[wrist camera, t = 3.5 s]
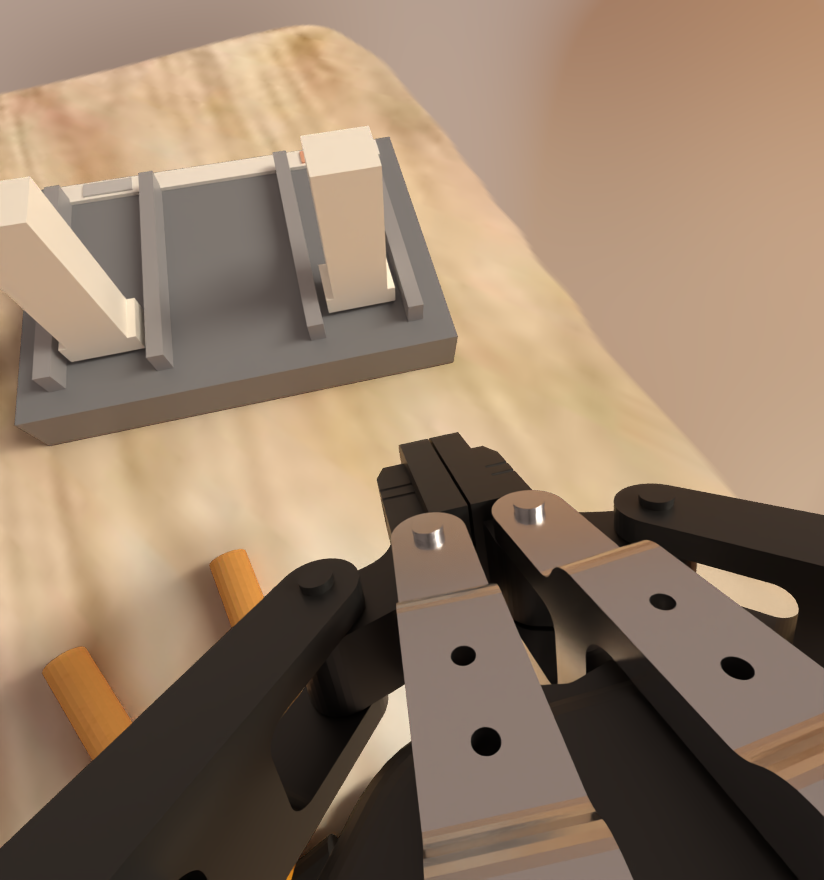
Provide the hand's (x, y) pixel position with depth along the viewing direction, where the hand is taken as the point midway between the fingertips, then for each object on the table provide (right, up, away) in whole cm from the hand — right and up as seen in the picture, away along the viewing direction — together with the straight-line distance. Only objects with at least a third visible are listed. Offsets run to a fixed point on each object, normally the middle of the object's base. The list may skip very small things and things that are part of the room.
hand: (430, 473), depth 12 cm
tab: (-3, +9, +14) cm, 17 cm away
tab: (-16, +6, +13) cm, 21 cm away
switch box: (-11, +10, +18) cm, 23 cm away
